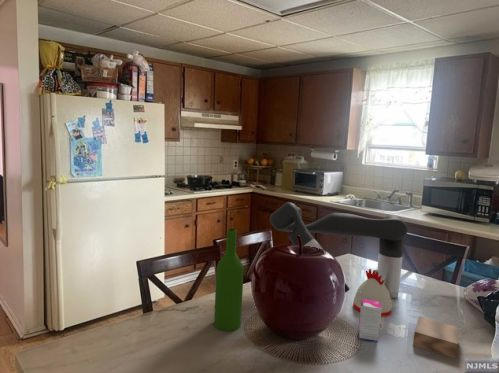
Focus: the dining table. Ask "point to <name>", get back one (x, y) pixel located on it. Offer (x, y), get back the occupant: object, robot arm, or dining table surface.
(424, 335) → the walnut block
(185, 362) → the dining table surface
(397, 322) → the dining table surface
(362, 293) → the kitchen timer
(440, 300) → the dining table surface
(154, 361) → the dining table surface
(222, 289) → the wine bottle
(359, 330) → the supplement box
